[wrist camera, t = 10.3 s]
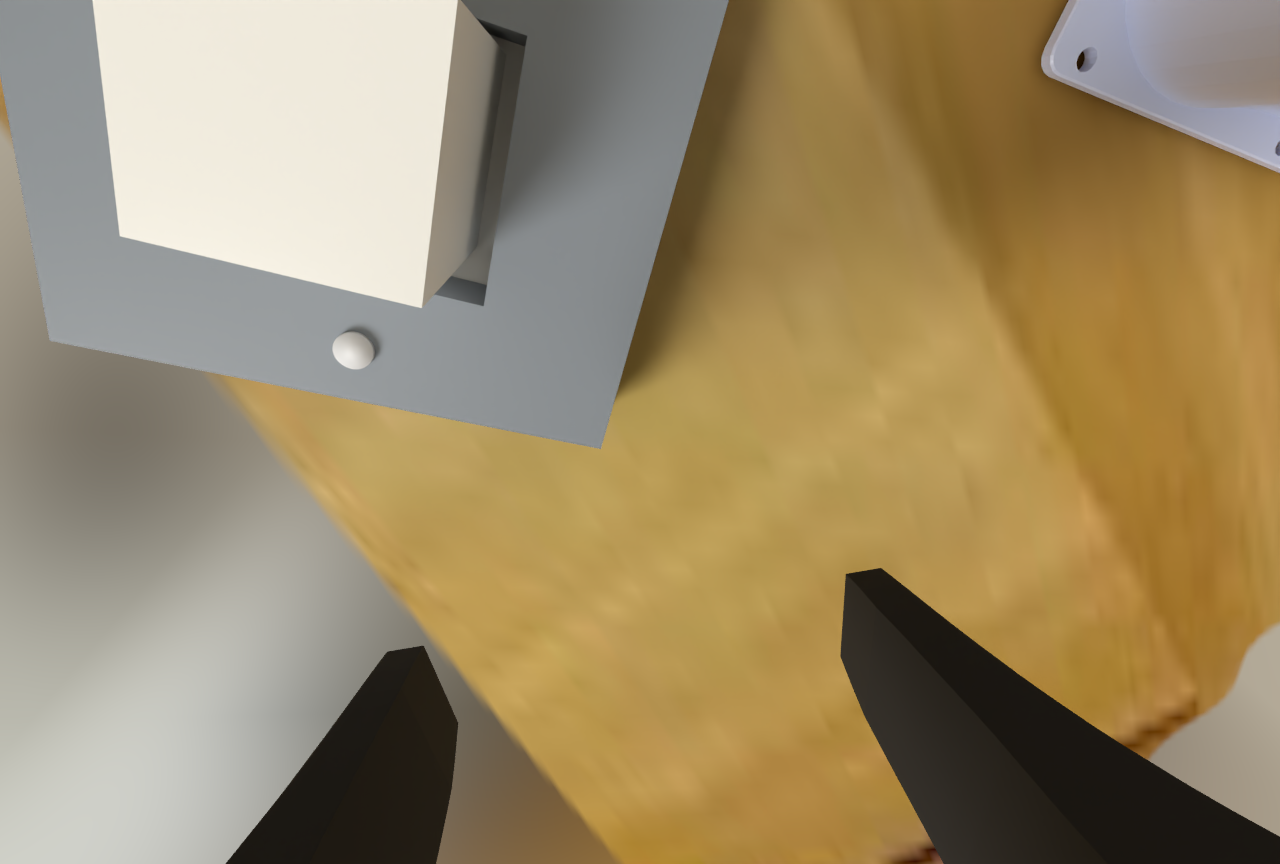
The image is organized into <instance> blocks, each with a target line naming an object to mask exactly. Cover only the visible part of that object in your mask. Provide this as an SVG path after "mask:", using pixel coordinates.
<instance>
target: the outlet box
mask: <svg viewBox="0 0 1280 864" xmlns="http://www.w3.org/2000/svg"><path fill="white" fill-rule="evenodd" d="M461 1H462V2H463V3H464V5H465V6H466V7H467V8H468V9H469V11H470V12H471V13H472V14H473V15H474V17H475V18H476V19H477V20H478V21H479V23H480V24H481V25H482V26H483V27H484V29H485V30H486V31H487V32H488V33H489V35H490V36H491V37H492V38H493V39H494V41H495V42H496V43H497V44H498V45H499V47H500V48H501V49H502V50H503V51H504V52H505V54H506V60H505V67H504V73H503V80H502V87H501V93H500V100H499V106H498V113H497V119H496V126H495V132H494V139H493V145H492V152H491V159H490V165H489V172H488V178H487V185H486V191H485V198H484V204H483V211H482V217H481V224H480V231H479V237H478V244H477V247H476V249H475V250H474V251H473V252H472V253H471V254H470V255H469V256H468V257H467V259H466V260H465V261H464V262H463V263H462V264H461V265H460V266H459V267H458V269H457V270H456V271H455V272H454V273H453V274H452V275H451V276H450V277H449V279H448V280H447V281H446V282H445V283H444V284H443V285H442V286H441V287H440V289H439V290H438V291H437V292H436V293H435V294H434V295H433V296H432V297H431V299H430V300H429V301H428V302H427V303H426V304H425V305H424V306H423V308H418V307H414V306H410V305H406V304H402V303H398V302H393V301H389V300H385V299H381V298H377V297H372V296H368V295H364V294H360V293H356V292H351V291H347V290H343V289H339V288H335V287H330V286H326V285H322V284H318V283H314V282H310V281H305V280H301V279H297V278H293V277H289V276H284V275H280V274H276V273H272V272H268V271H263V270H259V269H255V268H251V267H247V266H243V265H238V264H234V263H230V262H226V261H222V260H217V259H213V258H209V257H205V256H201V255H196V254H192V253H188V252H184V251H180V250H175V249H171V248H167V247H163V246H159V245H155V244H150V243H146V242H142V241H138V240H134V239H129V238H125V237H121V236H120V234H119V225H118V217H117V208H116V199H115V191H114V182H113V174H112V165H111V156H110V148H109V139H108V130H107V122H106V113H105V104H104V96H103V87H102V78H101V70H100V61H99V52H98V44H97V35H96V27H95V18H94V9H93V1H92V0H0V77H1V82H2V87H3V93H4V98H5V103H6V109H7V114H8V120H9V125H10V130H11V136H12V141H13V146H14V152H15V157H16V162H17V168H18V173H19V178H20V184H21V189H22V194H23V200H24V205H25V210H26V216H27V221H28V226H29V231H30V237H31V243H32V248H33V253H34V259H35V264H36V269H37V274H38V279H39V285H40V290H41V296H42V301H43V306H44V312H45V317H46V322H47V328H48V333H49V339H50V341H54V342H59V343H64V344H69V345H74V346H79V347H84V348H89V349H94V350H99V351H104V352H110V353H115V354H120V355H125V356H130V357H135V358H140V359H145V360H150V361H155V362H160V363H166V364H171V365H176V366H181V367H186V368H191V369H196V370H201V371H206V372H211V373H217V374H222V375H227V376H232V377H237V378H242V379H247V380H252V381H257V382H262V383H268V384H273V385H278V386H283V387H288V388H293V389H298V390H303V391H308V392H313V393H319V394H324V395H329V396H334V397H339V398H344V399H349V400H354V401H359V402H364V403H370V404H375V405H380V406H385V407H390V408H395V409H400V410H405V411H410V412H415V413H420V414H426V415H431V416H436V417H441V418H446V419H451V420H456V421H461V422H466V423H471V424H477V425H482V426H487V427H492V428H497V429H502V430H507V431H512V432H517V433H522V434H528V435H533V436H538V437H543V438H548V439H553V440H558V441H563V442H568V443H573V444H579V445H584V446H589V447H594V448H599V449H601V446H602V443H603V439H604V436H605V432H606V428H607V425H608V421H609V418H610V414H611V411H612V407H613V404H614V400H615V397H616V393H617V390H618V386H619V383H620V379H621V376H622V372H623V369H624V365H625V362H626V358H627V355H628V351H629V348H630V344H631V341H632V337H633V334H634V330H635V327H636V323H637V320H638V316H639V313H640V309H641V306H642V302H643V299H644V295H645V292H646V288H647V285H648V281H649V278H650V274H651V271H652V267H653V264H654V260H655V257H656V253H657V250H658V246H659V243H660V239H661V236H662V232H663V229H664V225H665V222H666V218H667V215H668V211H669V208H670V204H671V201H672V197H673V194H674V190H675V187H676V183H677V180H678V176H679V173H680V169H681V166H682V162H683V159H684V155H685V152H686V148H687V145H688V141H689V138H690V134H691V131H692V127H693V124H694V120H695V117H696V113H697V110H698V106H699V103H700V99H701V96H702V92H703V89H704V85H705V82H706V78H707V75H708V71H709V68H710V64H711V61H712V57H713V54H714V50H715V47H716V43H717V40H718V36H719V33H720V29H721V26H722V22H723V19H724V15H725V12H726V8H727V5H728V1H729V0H461Z"/></svg>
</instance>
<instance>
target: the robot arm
mask: <svg viewBox="0 0 1280 864" xmlns="http://www.w3.org/2000/svg"><path fill="white" fill-rule="evenodd" d="M1082 51H1083V52H1084V56H1085V60H1084V63H1083V65H1082V67H1081V68H1080V69H1079V70H1078V69H1077V64H1076V62H1077V59H1078V56H1079V55H1080V53H1081V52H1082ZM1041 66H1042V69H1043V72H1044V73H1045V74H1046V75H1047V76H1048V77H1050V78H1053V79H1055V80H1057V81H1060V82H1062V83H1065V84H1067V85H1069V86H1072V87H1074V88H1077V89H1079V90H1081V91H1084V92H1086V93H1089V94H1091V95H1093V96H1096V97H1098V98H1101V99H1103V100H1106V101H1108V102H1110V103H1113V104H1115V105H1118V106H1120V107H1122V108H1125V109H1127V110H1130V111H1132V112H1134V113H1137V114H1139V115H1142V116H1144V117H1146V118H1149V119H1151V120H1154V121H1156V122H1158V123H1161V124H1163V125H1166V126H1168V127H1170V128H1173V129H1175V130H1178V131H1180V132H1182V133H1185V134H1187V135H1190V136H1192V137H1194V138H1197V139H1199V140H1202V141H1204V142H1206V143H1209V144H1211V145H1214V146H1216V147H1218V148H1221V149H1223V150H1226V151H1228V152H1230V153H1233V154H1235V155H1238V156H1240V157H1242V158H1245V159H1247V160H1250V161H1252V162H1254V163H1257V164H1259V165H1262V166H1264V167H1266V168H1269V169H1271V170H1274V171H1276V172H1278V173H1280V0H1069V1H1068V3H1067V5H1066V7H1065V9H1064V11H1063V13H1062V15H1061V17H1060V18H1059V20H1058V22H1057V24H1056V26H1055V28H1054V30H1053V32H1052V34H1051V36H1050V38H1049V40H1048V42H1047V44H1046V46H1045V49H1044V52H1043V54H1042V59H1041ZM1278 142H1279V143H1278ZM1277 144H1278V145H1277ZM1276 146H1277V147H1276ZM1275 148H1276V149H1275ZM841 659H842V661H843V664H844V666H845V669H846V672H847V674H848V677H849V679H850V682H851V684H852V687H853V689H854V692H855V694H856V697H857V699H858V701H859V704H860V706H861V709H862V711H863V713H864V716H865V718H866V720H867V721H868V723H869V725H870V727H871V729H872V731H873V733H874V735H875V737H876V739H877V740H878V742H879V744H880V746H881V748H882V750H883V752H884V754H885V755H886V757H887V759H888V761H889V763H890V765H891V767H892V769H893V770H894V772H895V774H896V776H897V778H898V780H899V782H900V783H901V785H902V787H903V789H904V791H905V793H906V794H907V796H908V798H909V800H910V802H911V804H912V806H913V807H914V809H915V811H916V813H917V815H918V817H919V819H920V820H921V822H922V824H923V826H924V828H925V830H926V832H927V833H928V835H929V837H930V839H931V841H932V843H933V845H934V846H935V848H936V850H937V852H938V854H939V856H940V858H941V859H942V861H943V863H944V864H1280V837H1279V836H1277V835H1276V834H1274V833H1272V832H1270V831H1268V830H1266V829H1265V828H1263V827H1261V826H1259V825H1257V824H1256V823H1254V822H1252V821H1250V820H1248V819H1247V818H1245V817H1243V816H1241V815H1239V814H1237V813H1236V812H1234V811H1232V810H1230V809H1229V808H1227V807H1225V806H1223V805H1222V804H1220V803H1218V802H1216V801H1215V800H1213V799H1211V798H1210V797H1208V796H1206V795H1204V794H1203V793H1201V792H1199V791H1197V790H1196V789H1194V788H1192V787H1191V786H1189V785H1187V784H1186V783H1184V782H1182V781H1181V780H1179V779H1177V778H1176V777H1174V776H1172V775H1171V774H1169V773H1167V772H1166V771H1164V770H1163V769H1161V768H1159V767H1158V766H1156V765H1155V764H1153V763H1151V762H1150V761H1148V760H1146V759H1145V758H1143V757H1141V756H1140V755H1138V754H1137V753H1135V752H1133V751H1132V750H1130V749H1128V748H1127V747H1125V746H1124V745H1122V744H1120V743H1119V742H1117V741H1116V740H1114V739H1113V738H1111V737H1109V736H1108V735H1106V734H1105V733H1103V732H1102V731H1100V730H1099V729H1097V728H1096V727H1094V726H1092V725H1091V724H1089V723H1088V722H1086V721H1085V720H1084V719H1082V718H1081V717H1079V716H1078V715H1076V714H1075V713H1073V712H1072V711H1070V710H1069V709H1067V708H1066V707H1065V706H1063V705H1062V704H1060V703H1059V702H1057V701H1056V700H1054V699H1053V698H1051V697H1050V696H1048V695H1047V694H1046V693H1044V692H1043V691H1041V690H1040V689H1038V688H1037V687H1036V686H1034V685H1033V684H1031V683H1030V682H1029V681H1027V680H1026V679H1024V678H1023V677H1022V676H1020V675H1019V674H1017V673H1016V672H1015V671H1013V670H1012V669H1011V668H1009V667H1008V666H1007V665H1005V664H1004V663H1003V662H1001V661H1000V660H999V659H997V658H996V657H995V656H993V655H992V654H991V653H989V652H988V651H987V650H985V649H984V648H983V647H981V646H980V645H978V644H977V643H976V642H975V641H973V640H972V639H971V638H969V637H968V636H967V635H965V634H964V633H963V632H961V631H960V630H959V629H958V628H956V627H955V626H954V625H952V624H951V623H950V622H949V621H947V620H946V619H945V618H944V617H942V616H941V615H940V614H938V613H937V612H936V611H935V610H933V609H932V608H931V607H930V606H928V605H927V604H926V603H925V602H923V601H922V600H921V599H920V598H918V597H917V596H916V595H915V594H913V593H912V592H911V591H910V590H908V589H907V588H906V587H904V586H903V585H902V584H901V583H899V582H898V581H897V580H896V579H894V578H893V577H892V576H891V575H889V574H888V573H887V572H885V571H884V570H883V569H881V568H878V569H872V570H867V571H861V572H855V573H849V574H846V581H845V596H844V611H843V626H842V641H841ZM457 730H458V722H457V719H456V717H455V715H454V713H453V710H452V708H451V706H450V704H449V701H448V699H447V697H446V695H445V693H444V690H443V688H442V686H441V683H440V681H439V679H438V677H437V674H436V672H435V670H434V668H433V665H432V663H431V661H430V659H429V657H428V654H427V652H426V650H425V648H424V646H419V647H413V648H407V649H401V650H395V651H389V652H387V653H386V654H385V655H384V657H383V658H382V659H381V661H380V662H379V663H378V665H377V666H376V667H375V669H374V670H373V671H372V673H371V674H370V675H369V677H368V678H367V679H366V681H365V682H364V684H363V685H362V686H361V688H360V689H359V690H358V692H357V693H356V695H355V696H354V697H353V699H352V700H351V702H350V703H349V704H348V706H347V707H346V708H345V710H344V711H343V713H342V714H341V715H340V717H339V718H338V719H337V721H336V722H335V724H334V725H333V726H332V728H331V729H330V730H329V732H328V733H327V734H326V736H325V737H324V738H323V740H322V741H321V742H320V744H319V745H318V747H317V748H316V749H315V751H314V752H313V753H312V754H311V756H310V757H309V758H308V760H307V761H306V762H305V764H304V765H303V767H302V768H301V769H300V770H299V772H298V773H297V774H296V776H295V777H294V778H293V780H292V781H291V783H290V784H289V785H288V786H287V788H286V789H285V790H284V792H283V793H282V794H281V795H280V797H279V798H278V799H277V801H276V802H275V803H274V804H273V806H272V807H271V808H270V809H269V811H268V812H267V813H266V814H265V816H264V817H263V818H262V819H261V821H260V822H259V823H258V824H257V826H256V827H255V828H254V829H253V830H252V832H251V833H250V834H249V835H248V837H247V838H246V839H245V840H244V842H243V843H242V844H241V845H240V847H239V848H238V849H237V850H236V852H235V853H234V854H233V855H232V857H231V858H230V859H229V860H228V862H227V863H226V864H436V861H437V856H438V852H439V847H440V842H441V838H442V833H443V827H444V823H445V819H446V814H447V809H448V804H449V799H450V794H451V789H452V780H453V771H454V763H455V752H456V741H457Z"/></svg>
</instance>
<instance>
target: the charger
mask: <svg viewBox="0 0 1280 864" xmlns="http://www.w3.org/2000/svg"><path fill="white" fill-rule="evenodd" d="M92 1H93V9H94V18H95V27H96V35H97V44H98V52H99V61H100V70H101V78H102V87H103V96H104V104H105V113H106V122H107V130H108V139H109V148H110V156H111V165H112V174H113V182H114V191H115V199H116V208H117V217H118V225H119V234H120V236H121V237H125V238H129V239H134V240H138V241H142V242H146V243H150V244H155V245H159V246H163V247H167V248H171V249H175V250H180V251H184V252H188V253H192V254H196V255H201V256H205V257H209V258H213V259H217V260H222V261H226V262H230V263H234V264H238V265H243V266H247V267H251V268H255V269H259V270H263V271H268V272H272V273H276V274H280V275H284V276H289V277H293V278H297V279H301V280H305V281H310V282H314V283H318V284H322V285H326V286H330V287H335V288H339V289H343V290H347V291H351V292H356V293H360V294H364V295H368V296H372V297H377V298H381V299H385V300H389V301H393V302H398V303H402V304H406V305H410V306H414V307H418V308H423V306H424V305H425V304H426V303H427V302H428V301H429V300H430V299H431V297H432V296H433V295H434V294H435V293H436V292H437V291H438V290H439V289H440V287H441V286H442V285H443V284H444V283H445V282H446V281H447V280H448V279H449V277H450V276H451V275H452V274H453V273H454V272H455V271H456V270H457V269H458V267H459V266H460V265H461V264H462V263H463V262H464V261H465V260H466V259H467V257H468V256H469V255H470V254H471V253H472V252H473V251H474V250H475V249H476V247H477V244H478V237H479V231H480V224H481V217H482V211H483V204H484V198H485V191H486V185H487V178H488V172H489V165H490V159H491V152H492V145H493V139H494V132H495V126H496V119H497V113H498V106H499V100H500V93H501V87H502V80H503V73H504V67H505V60H506V54H505V52H504V51H503V50H502V49H501V48H500V47H499V45H498V44H497V43H496V42H495V41H494V39H493V38H492V37H491V36H490V35H489V33H488V32H487V31H486V30H485V29H484V27H483V26H482V25H481V24H480V23H479V21H478V20H477V19H476V18H475V17H474V15H473V14H472V13H471V12H470V11H469V9H468V8H467V7H466V6H465V5H464V3H463V2H462V1H461V0H92Z"/></svg>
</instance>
